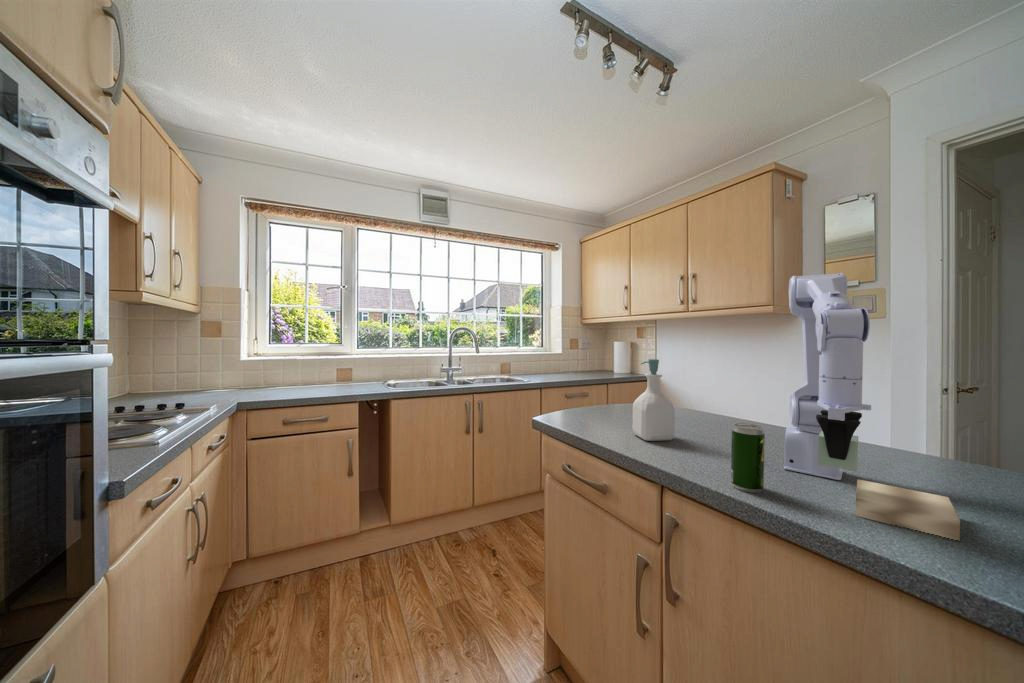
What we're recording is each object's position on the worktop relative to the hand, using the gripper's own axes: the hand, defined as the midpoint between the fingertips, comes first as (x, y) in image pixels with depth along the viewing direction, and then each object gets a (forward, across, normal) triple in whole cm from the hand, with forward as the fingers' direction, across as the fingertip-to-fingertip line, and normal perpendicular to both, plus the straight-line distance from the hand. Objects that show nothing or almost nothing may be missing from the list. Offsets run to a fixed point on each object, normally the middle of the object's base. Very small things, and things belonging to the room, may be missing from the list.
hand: (838, 454), depth 65 cm
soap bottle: (+9, +18, +41) cm, 46 cm away
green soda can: (+9, -4, +13) cm, 16 cm away
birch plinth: (+9, +2, -8) cm, 12 cm away
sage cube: (+2, 0, 0) cm, 2 cm away
